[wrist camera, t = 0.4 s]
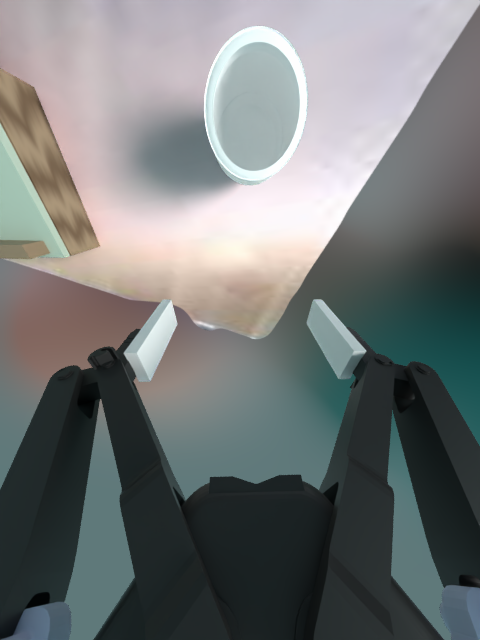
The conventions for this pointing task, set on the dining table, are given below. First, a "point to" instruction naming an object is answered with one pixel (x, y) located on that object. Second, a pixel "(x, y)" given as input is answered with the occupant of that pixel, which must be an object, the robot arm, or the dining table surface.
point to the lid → (23, 212)
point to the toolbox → (44, 162)
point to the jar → (255, 104)
